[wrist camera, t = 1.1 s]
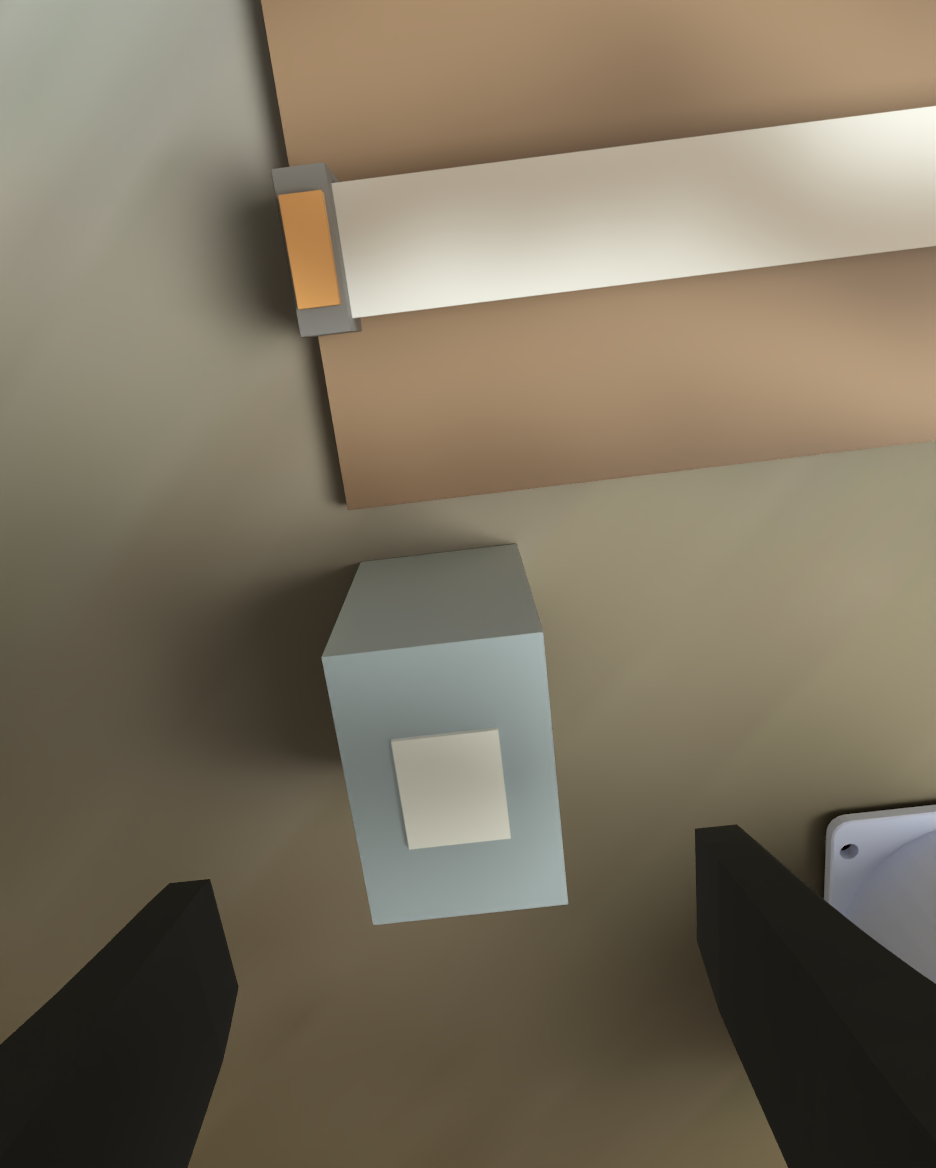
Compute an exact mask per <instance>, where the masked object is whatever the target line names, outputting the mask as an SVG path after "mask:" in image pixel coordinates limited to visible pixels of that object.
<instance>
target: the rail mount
mask: <svg viewBox="0 0 936 1168" xmlns="http://www.w3.org/2000/svg"><path fill="white" fill-rule="evenodd" d="M261 4H262V10H263V16H264V22H265V28H266V34H267V39H268V45H269V51H270V57H271V63H272V69H273V75H274V81H275V86H276V92H277V98H278V104H279V110H280V116H281V122H282V127H283V133H284V139H285V145H286V151H287V157H288V163H289V167H284V168H276V169H271V171H272V177H273V182H274V188H275V194H276V199H277V205H278V211H279V216H280V222H281V228H282V233H283V239H284V244H285V250H286V256H287V261H288V267H289V273H290V278H291V284H292V290H293V295H294V301H295V307H296V312H297V318H298V323H299V329H300V335H301V337H318V339H319V345H320V350H321V356H322V362H323V368H324V374H325V380H326V386H327V392H328V397H329V403H330V409H331V415H332V421H333V427H334V433H335V438H336V444H337V450H338V456H339V462H340V468H341V474H342V480H343V485H344V491H345V497H346V503H347V509H348V510H353V509H362V508H370V507H379V506H387V505H395V504H404V503H412V502H421V501H429V500H438V499H446V498H454V497H463V496H471V495H480V494H488V493H497V492H505V491H513V490H522V489H530V488H539V487H547V486H556V485H564V484H572V483H581V482H589V481H598V480H606V479H615V478H623V477H632V476H640V475H648V474H657V473H665V472H674V471H682V470H691V469H699V468H707V467H716V466H724V465H733V464H741V463H750V462H758V461H766V460H775V459H783V458H792V457H800V456H809V455H817V454H825V453H834V452H842V451H851V450H859V449H868V448H876V447H885V446H893V445H901V444H910V443H918V442H927V441H935V440H936V0H261Z"/></svg>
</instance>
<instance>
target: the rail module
mask: <svg viewBox="0 0 936 1168" xmlns="http://www.w3.org/2000/svg"><path fill="white" fill-rule="evenodd" d="M322 663H323V668H324V673H325V678H326V683H327V688H328V694H329V699H330V704H331V709H332V714H333V719H334V725H335V730H336V735H337V740H338V745H339V750H340V756H341V761H342V766H343V771H344V776H345V781H346V787H347V792H348V797H349V802H350V807H351V812H352V818H353V823H354V828H355V833H356V838H357V843H358V848H359V854H360V859H361V864H362V869H363V874H364V879H365V885H366V890H367V895H368V900H369V905H370V910H371V916H372V921H373V925H379V924H388V923H398V922H407V921H416V920H426V919H435V918H444V917H454V916H463V915H472V914H482V913H491V912H500V911H510V910H519V909H528V908H538V907H547V906H556V905H566V904H568V897H567V886H566V875H565V865H564V854H563V843H562V832H561V821H560V810H559V800H558V789H557V778H556V767H555V756H554V745H553V735H552V724H551V713H550V702H549V691H548V680H547V670H546V659H545V648H544V637H543V630H542V627H541V623H540V620H539V617H538V613H537V610H536V607H535V603H534V600H533V596H532V593H531V590H530V586H529V583H528V579H527V576H526V573H525V569H524V566H523V563H522V559H521V556H520V552H519V549H518V546H517V544H510V545H501V546H493V547H484V548H476V549H467V550H459V551H450V552H442V553H433V554H425V555H416V556H407V557H399V558H390V559H382V560H373V561H365V562H361V563H360V565H359V568H358V570H357V572H356V575H355V577H354V580H353V582H352V585H351V587H350V589H349V592H348V594H347V597H346V599H345V602H344V604H343V606H342V609H341V611H340V614H339V616H338V619H337V621H336V623H335V626H334V628H333V631H332V633H331V636H330V638H329V640H328V643H327V645H326V648H325V650H324V653H323V655H322Z"/></svg>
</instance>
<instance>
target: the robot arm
mask: <svg viewBox="0 0 936 1168" xmlns="http://www.w3.org/2000/svg"><path fill="white" fill-rule="evenodd" d="M848 844H851V845H850V847H848V848H847V849H845V850H841V848H843V847H844V846H845V845H848ZM695 850H696V901H697V941H698V945H699V948H700V951H701V954H702V958H703V961H704V964H705V967H706V971H707V974H708V977H709V980H710V983H711V987H712V990H713V993H714V996H715V999H716V1002H717V1005H718V1008H719V1011H720V1013H721V1016H722V1018H723V1020H724V1023H725V1025H726V1027H727V1030H728V1032H729V1034H730V1037H731V1039H732V1041H733V1043H734V1046H735V1048H736V1050H737V1053H738V1055H739V1057H740V1060H741V1062H742V1064H743V1066H744V1069H745V1071H746V1073H747V1075H748V1078H749V1080H750V1082H751V1084H752V1087H753V1089H754V1091H755V1093H756V1096H757V1098H758V1100H759V1103H760V1105H761V1107H762V1109H763V1112H764V1114H765V1116H766V1118H767V1121H768V1123H769V1125H770V1127H771V1130H772V1132H773V1134H774V1136H775V1139H776V1141H777V1143H778V1145H779V1148H780V1150H781V1152H782V1154H783V1157H784V1159H785V1161H786V1164H787V1166H788V1168H936V805H928V806H919V807H910V808H901V809H891V810H882V811H873V812H864V813H854V814H845V815H841V816H838V817H836V818H835V819H833V820H832V821H831V822H830V824H829V825H828V828H827V832H826V858H825V884H824V899H823V898H822V897H820V896H819V895H818V894H817V893H816V892H814V891H813V890H812V889H811V888H810V887H808V886H807V885H806V884H805V883H804V882H803V881H801V880H800V879H799V878H798V877H797V876H796V875H794V874H793V873H792V872H791V871H790V870H789V869H788V868H786V867H785V866H784V865H783V864H782V863H781V862H779V861H778V860H777V859H776V858H775V857H774V856H773V855H771V854H770V853H769V852H768V851H767V850H766V849H765V848H764V847H762V846H761V845H760V844H759V843H758V842H757V841H756V840H754V839H753V838H752V837H751V836H750V835H749V834H747V833H746V832H745V831H744V830H743V829H742V828H740V827H739V826H738V825H728V826H718V827H708V828H699V829H695ZM237 991H238V984H237V980H236V976H235V972H234V968H233V965H232V961H231V957H230V953H229V949H228V946H227V942H226V938H225V934H224V931H223V927H222V923H221V919H220V915H219V912H218V908H217V904H216V900H215V897H214V893H213V889H212V885H211V881H210V879H207V880H197V881H187V882H178V883H169V884H168V885H167V886H166V887H165V888H164V889H163V890H162V891H161V892H160V893H159V894H157V895H156V896H155V897H154V898H153V899H152V900H151V901H150V902H149V903H148V904H147V905H146V906H145V907H144V908H143V909H142V910H141V911H140V912H139V913H138V914H137V915H136V916H135V917H134V918H133V919H132V920H131V921H130V922H129V923H128V924H127V925H126V926H125V927H124V928H123V929H122V930H121V931H120V932H119V933H118V934H117V935H116V936H115V937H114V938H113V939H112V940H111V941H110V942H109V943H108V944H107V945H106V946H105V947H104V948H103V949H102V950H101V951H100V952H99V953H98V954H97V955H96V956H95V957H94V958H93V959H92V960H90V961H89V962H88V963H87V964H86V965H85V966H84V967H83V968H82V969H81V970H80V971H79V972H78V973H77V974H76V975H75V976H74V977H73V978H72V979H71V980H70V981H69V982H68V983H67V984H66V985H65V986H64V987H63V988H62V989H61V990H60V991H59V992H58V993H57V994H56V995H54V996H53V997H52V998H51V999H50V1000H49V1001H48V1002H47V1003H46V1004H45V1005H44V1006H42V1007H41V1008H40V1009H39V1010H38V1011H37V1012H36V1013H35V1014H34V1015H33V1016H31V1017H30V1018H29V1019H28V1020H27V1021H26V1022H25V1023H24V1024H23V1025H22V1026H20V1027H19V1028H18V1029H17V1030H16V1031H15V1032H14V1033H13V1034H12V1035H11V1036H9V1037H8V1038H7V1039H6V1040H5V1041H4V1042H3V1043H2V1044H1V1045H0V1168H187V1167H188V1164H189V1161H190V1158H191V1155H192V1152H193V1149H194V1146H195V1143H196V1140H197V1137H198V1134H199V1131H200V1129H201V1126H202V1123H203V1120H204V1117H205V1114H206V1111H207V1108H208V1105H209V1102H210V1099H211V1096H212V1092H213V1089H214V1086H215V1083H216V1080H217V1077H218V1074H219V1071H220V1068H221V1065H222V1062H223V1058H224V1053H225V1049H226V1045H227V1040H228V1036H229V1031H230V1027H231V1022H232V1017H233V1012H234V1007H235V1001H236V996H237Z"/></svg>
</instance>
